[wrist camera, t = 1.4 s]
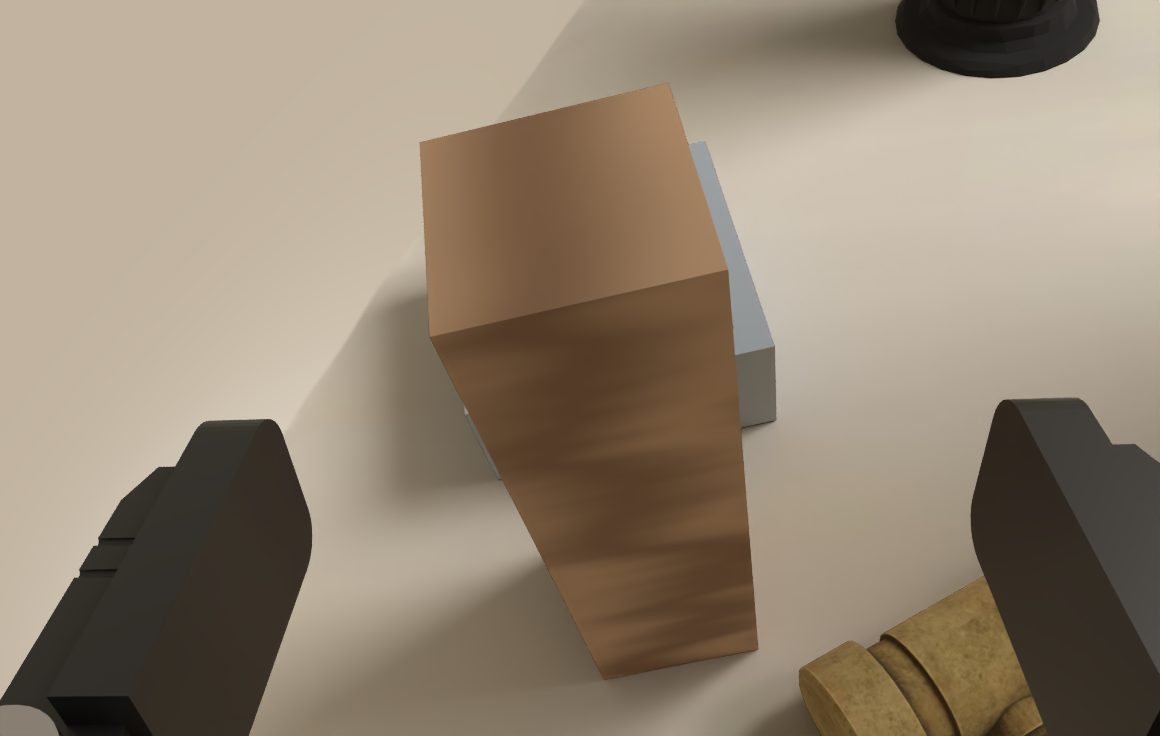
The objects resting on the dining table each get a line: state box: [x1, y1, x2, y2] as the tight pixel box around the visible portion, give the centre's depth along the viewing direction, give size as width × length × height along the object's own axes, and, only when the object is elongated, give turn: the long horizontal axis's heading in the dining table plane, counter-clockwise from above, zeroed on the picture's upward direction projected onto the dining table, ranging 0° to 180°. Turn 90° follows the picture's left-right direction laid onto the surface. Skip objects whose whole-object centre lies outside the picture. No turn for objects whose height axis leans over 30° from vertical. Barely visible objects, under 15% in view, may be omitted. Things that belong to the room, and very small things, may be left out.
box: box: [464, 141, 776, 480], centre depth 39 cm, size 12×12×5 cm
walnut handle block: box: [420, 83, 758, 680], centre depth 26 cm, size 6×6×20 cm
